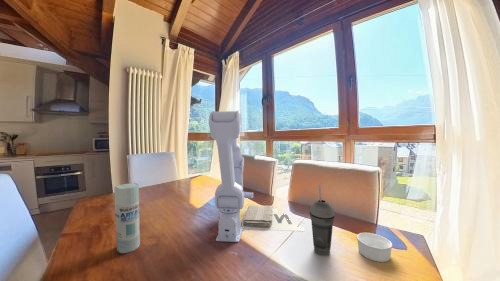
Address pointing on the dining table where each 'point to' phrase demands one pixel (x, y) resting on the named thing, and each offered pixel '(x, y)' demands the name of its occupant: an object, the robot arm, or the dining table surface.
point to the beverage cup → (322, 225)
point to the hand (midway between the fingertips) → (236, 213)
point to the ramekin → (374, 247)
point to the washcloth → (258, 216)
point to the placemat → (278, 223)
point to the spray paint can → (127, 217)
